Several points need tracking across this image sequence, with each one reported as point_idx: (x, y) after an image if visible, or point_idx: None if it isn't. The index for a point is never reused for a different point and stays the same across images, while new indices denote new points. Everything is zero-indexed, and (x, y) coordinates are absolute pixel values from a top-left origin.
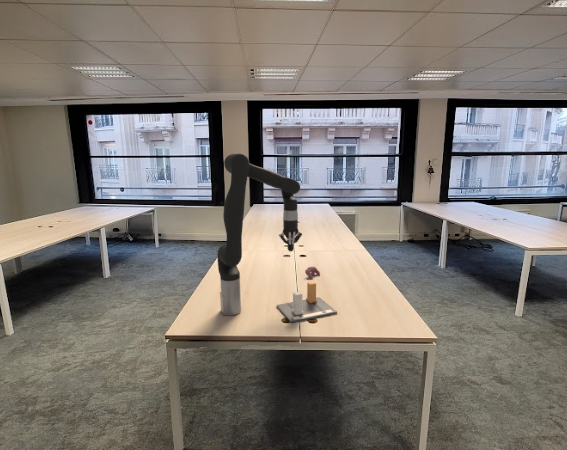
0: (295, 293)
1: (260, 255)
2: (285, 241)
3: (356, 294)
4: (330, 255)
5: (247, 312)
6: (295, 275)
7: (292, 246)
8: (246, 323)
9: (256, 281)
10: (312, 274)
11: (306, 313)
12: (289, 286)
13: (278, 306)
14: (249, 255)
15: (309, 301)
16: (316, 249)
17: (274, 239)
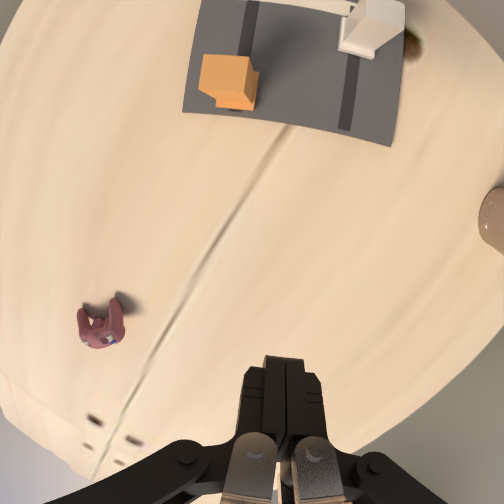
0: (396, 15)
1: None
2: (401, 484)
3: (51, 98)
4: (34, 381)
5: (476, 178)
6: (158, 352)
7: (266, 405)
8: (500, 120)
9: None
10: (102, 321)
11: (325, 18)
12: (228, 287)
13: (391, 131)
14: None
15: (258, 77)
16: (59, 419)
17: None
